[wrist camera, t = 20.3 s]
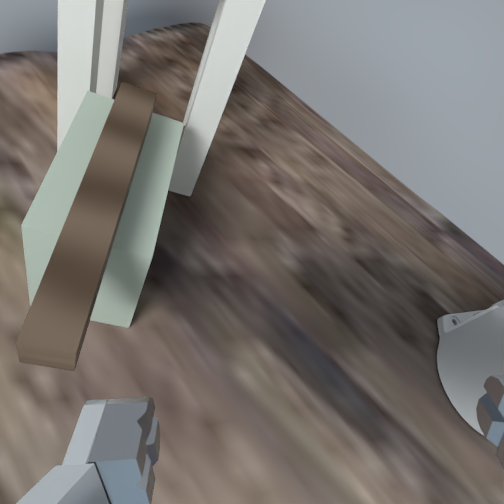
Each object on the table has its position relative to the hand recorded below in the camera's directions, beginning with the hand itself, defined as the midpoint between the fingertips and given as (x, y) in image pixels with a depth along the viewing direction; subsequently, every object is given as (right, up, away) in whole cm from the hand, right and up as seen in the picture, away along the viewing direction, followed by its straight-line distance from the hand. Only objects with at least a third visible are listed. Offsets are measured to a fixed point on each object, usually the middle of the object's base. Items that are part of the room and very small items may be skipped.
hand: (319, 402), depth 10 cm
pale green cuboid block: (-17, +4, +34) cm, 39 cm away
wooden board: (-13, +7, +21) cm, 26 cm away
